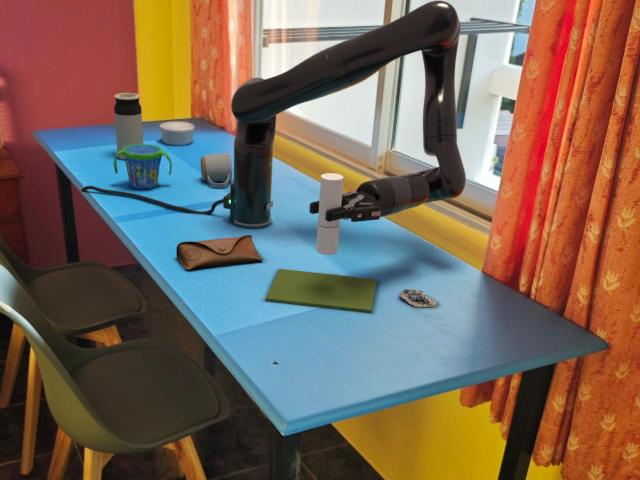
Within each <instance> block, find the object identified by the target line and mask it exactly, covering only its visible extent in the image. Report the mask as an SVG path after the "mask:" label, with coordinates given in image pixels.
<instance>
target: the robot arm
mask: <svg viewBox="0 0 640 480" xmlns="http://www.w3.org/2000/svg"><path fill="white" fill-rule="evenodd" d="M461 31H462V27H461V21H460V18H459V15H458V12H457V10H456V8H455V6H454V5H452V4H451V3H450V2H447V1H444V0H432V1H431V0H430V1H428V2H427V3H424V4H422V5H420V6H418V7H417V8H414V9H413V10H411V11H409V12H408V13H405V14H404V15H402V16H400V17H399V18H397V19H395V20H393V21H391V22H389V23H387V24H384V25H382V26H379V27H377V28H375V29H371V30H369V31H366V32H363V33H361V34H358V35H356V36H354V37H351V38H349V39H346V40H343V41H341V42H338V43H336V44H334V45H331V46H328V47H326V48H324V49H323V50H320V51H318V52H316V53H314V54H313V55H310V56H309V57H307V58H306V59H304V60H302V61H301V62H298V64H296V65H294V66H293V67H291V68H289V69H288V70H286V71H284V72H282V73H280V74H277V75H275V76H272V77H269V78H265V79H264V78H262V77H252V78H249V79H247V80H245V81H244V82H243V83H242V84H241V85H240V86H238V88H236V90H235V91H234V94H233V95H232V98H231V103H230V109H231V113H232V116H233V117H234V118H235V119H236V129H235V130H236V131H235V136H234V140H233V182H232V183H230V185H229V193H227V194H226V195H224V196H223V197H222V199H219V200H216V201H214V202H213V203H212V205H211V207H210V209H209V210H204V211H201V210H194V209H191V208H187V207H183V206H178V205H174V204H170V203H167V202H165V201H161V200H159V199H155V198H151V197H149V196H148V197H147V196H145V195H141V194H138V193H133V192H128V191H121V190H114V189H105V188H102V187H101V188H100V187H97V186H94V185H87V186H84V187H82V188H81V190H80V192H82V193H84V192H86V191H87V190H88V191H89V190H93V191H96V192H98V193H103V194H109V195H119V196H126V197H131V198H136V199H139V200H142V201H145V202H148V203H153V204H155V205H160V206H162V207H165V208H168V209H171V210H175V211H180V212H185V213H188V214H194V215H207V216H208V215H211V214H213V213H214V212H215V209H216V207H217V206H218V205H221V204H222V208H223V209H225V210H229V223H232V224H234V225H236V226H239V227H242V228H250V229H257V228H258V229H259V228H263V227H266V226H269V225H270V224H271V220H272V219H271V215H272V214H271V210H272V209H271V208H272V207H274V200H272V187H273V185H272V181H273V162H274V161H273V159H274V158H273V157H274V143H275V138H276V129H277V128H276V127H277V115H279V114H280V113H282V112H284V111H287V110H289V109H291V108H293V107H295V106H298V105H302V104H304V103H308V102H312V101H314V100H318V99H320V98H323V97H324V98H325V97H327V96H329V95H333V94H336V93H339V92H341V91H344V90H346V89H348V88H352V87H355V86H356V85H359V84H361V83H362V82H364V81H366V80H368V79H369V78H371V77H372V76H374V75H375V74H377V73H378V72H379V71H381V70H382V69H383V68H384V67H386V66H387V65H389V64H390V63H392V62H394V61H396V60H397V59H400V58H403V57H406V56H409V55H411V54H414V53H417V52H420V51H421V57H422V61H423V67H424V68H423V69H424V86H425V87H424V96H423V106H422V107H423V108H422V140H423V141H422V147H423V151H424V154H425V155H427V156H429V157H436V160H437V163H438V166H437V167H431V168H428V169H424V170H419V171H417V172H410V173H405V174H400V175H396V176H395V175H390V176H386V177H380V178H375V179H372V180H367V181H364V182H362V183H360V184H359V186H358V187H357V188H356V190H350V191H347V192H342V203H341V207H337V208H333V209H329V210H327V211H326V217H325V220H326V221H328V222H331V221H335V220H339V219H340V220H344V221H348V220H350V222H352V223H358V222H367V221H379V220H380V219H381V218H382V217H387V216H391V215H394V214H398V213H400V212H402V211H405V210H409V209H413V208H418V207H420V206H421V205H423V204H427V203H433V202H440V201H445V200H446V201H447V200H453V199H456V198H458V197H460V196H461V195H462V193H463V192H464V190H465V187H466V182H467V176H466V175H467V174H466V171H465V167H464V162H463V159H462V155H461V153H460V149H459V146H458V127H457V126H458V123H457V122H458V121H457V104H456V103H457V101H456V82H455V81H456V64H457V63H456V62H457V55H458V48H459V41H460V36H461ZM309 214H311V215H315V214H319V200H315V201H311V202H310V204H309Z"/></svg>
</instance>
